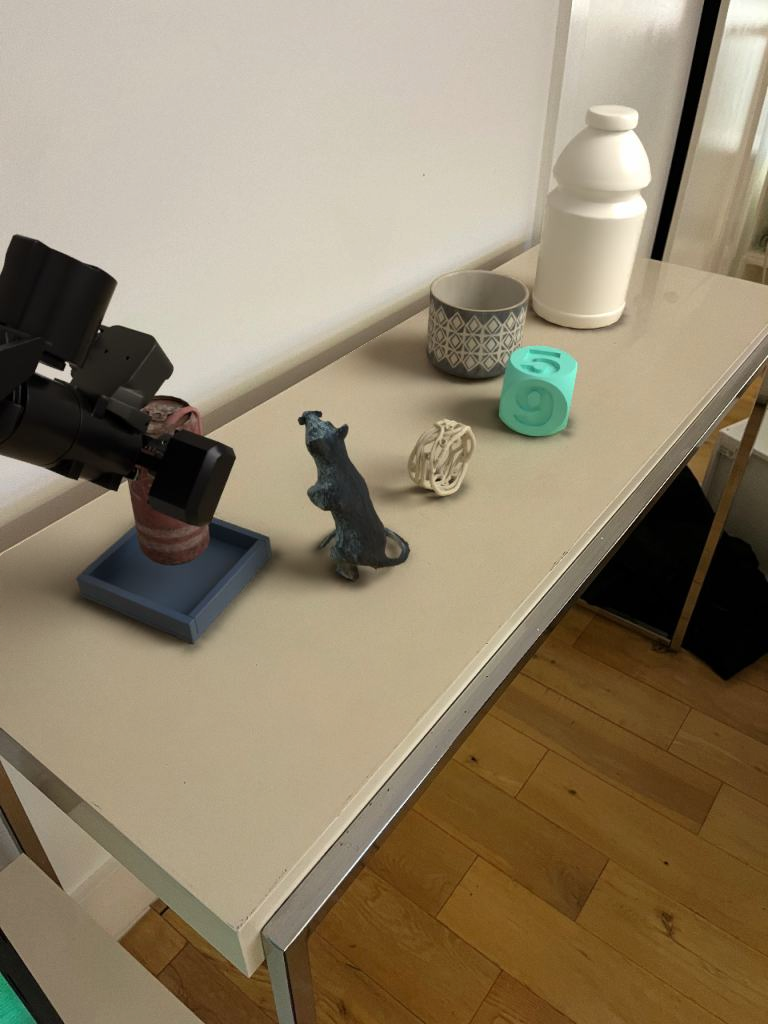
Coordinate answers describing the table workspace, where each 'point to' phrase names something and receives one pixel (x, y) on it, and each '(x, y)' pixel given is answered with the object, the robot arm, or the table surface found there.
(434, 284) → the planter
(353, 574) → the sculpture
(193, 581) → the blue tray
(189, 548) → the can
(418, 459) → the bracelet
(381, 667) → the table surface
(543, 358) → the decorative dice
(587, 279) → the bottle
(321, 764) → the table surface
